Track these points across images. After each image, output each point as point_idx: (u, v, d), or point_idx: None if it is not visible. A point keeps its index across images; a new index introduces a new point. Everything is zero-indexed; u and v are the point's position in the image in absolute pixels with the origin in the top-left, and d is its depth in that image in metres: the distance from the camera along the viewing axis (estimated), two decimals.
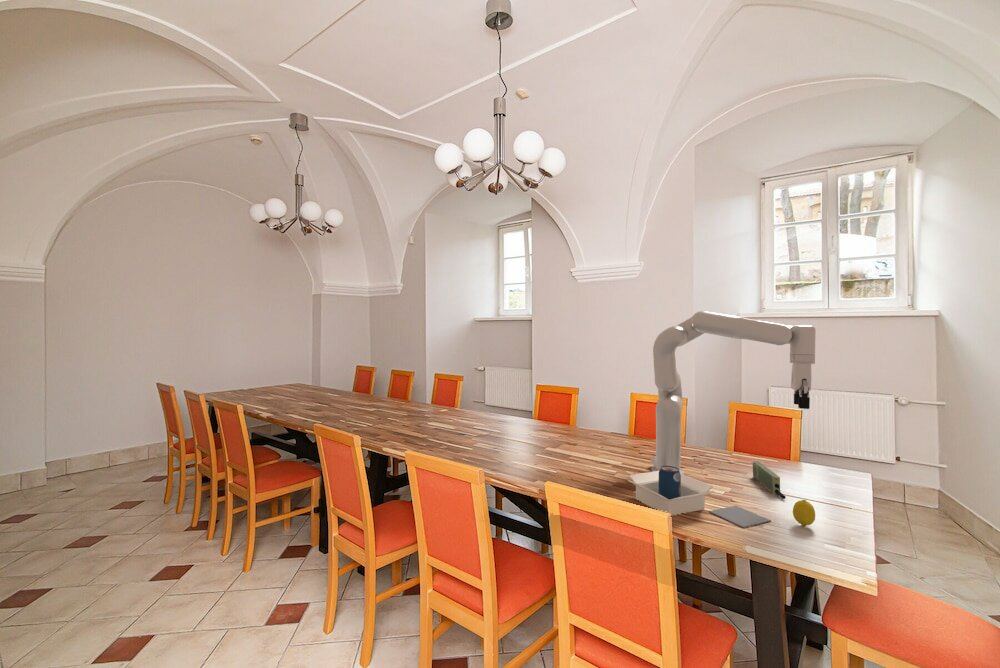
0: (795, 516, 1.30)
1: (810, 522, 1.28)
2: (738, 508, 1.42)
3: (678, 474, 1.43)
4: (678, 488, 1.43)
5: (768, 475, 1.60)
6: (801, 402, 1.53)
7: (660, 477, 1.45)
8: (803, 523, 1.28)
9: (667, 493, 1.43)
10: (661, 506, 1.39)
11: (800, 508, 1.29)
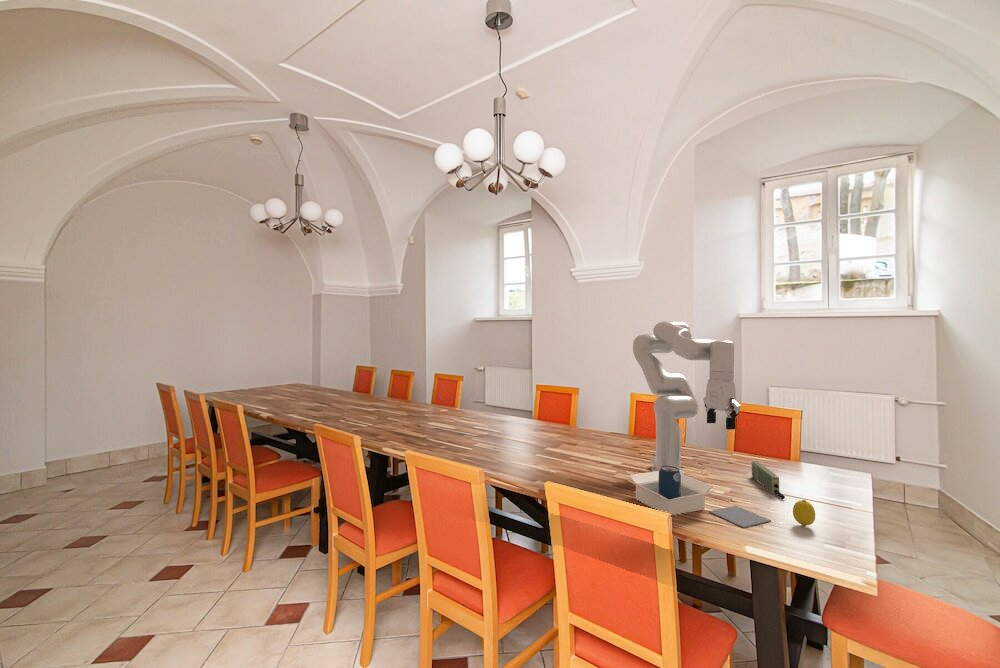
0: (795, 516, 1.30)
1: (810, 522, 1.28)
2: (738, 508, 1.42)
3: (678, 474, 1.43)
4: (678, 488, 1.43)
5: (767, 475, 1.60)
6: (729, 423, 1.44)
7: (660, 477, 1.45)
8: (803, 523, 1.28)
9: (667, 493, 1.43)
10: (661, 506, 1.39)
11: (800, 508, 1.29)
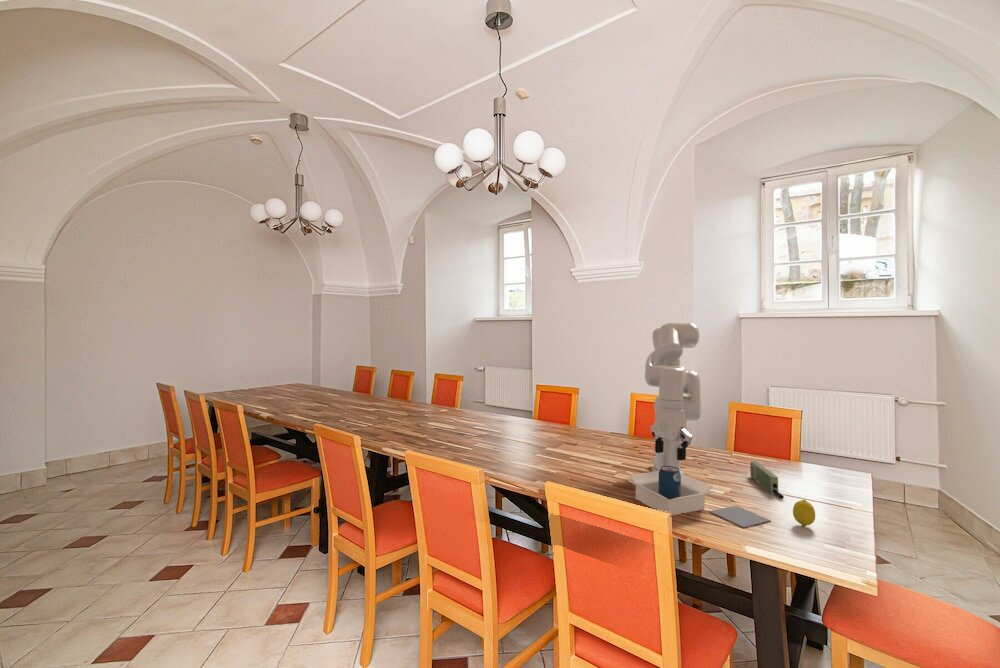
0: (795, 516, 1.30)
1: (810, 522, 1.28)
2: (738, 508, 1.42)
3: (678, 474, 1.43)
4: (678, 488, 1.43)
5: (766, 475, 1.60)
6: (680, 454, 1.40)
7: (660, 477, 1.45)
8: (803, 523, 1.28)
9: (667, 493, 1.43)
10: (661, 506, 1.39)
11: (799, 508, 1.29)
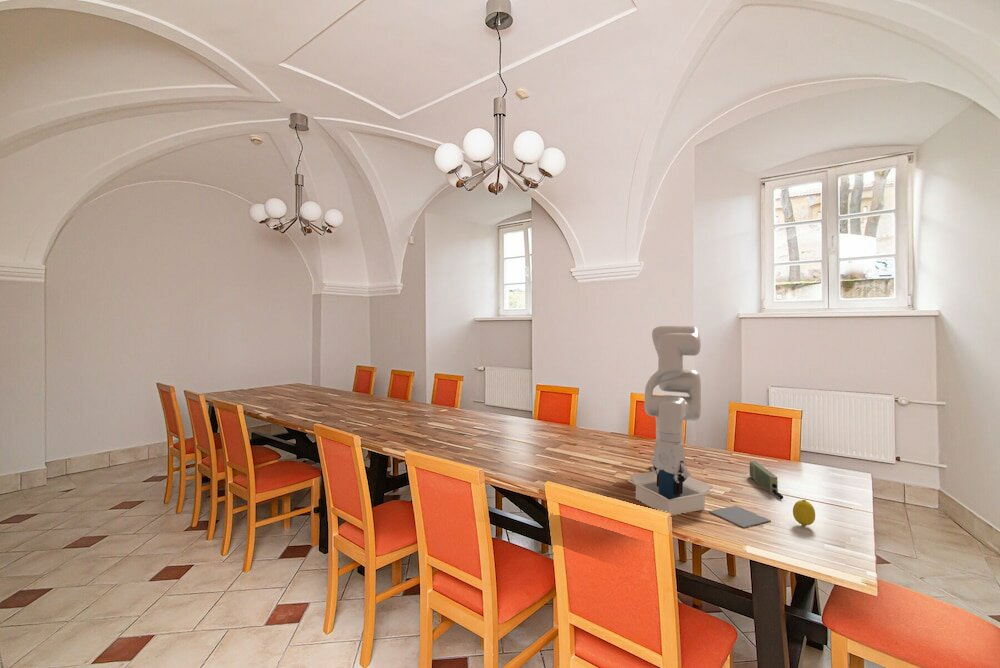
0: (795, 516, 1.30)
1: (810, 522, 1.28)
2: (738, 508, 1.42)
3: None
4: None
5: (765, 475, 1.60)
6: (677, 488, 1.41)
7: (660, 477, 1.45)
8: (803, 523, 1.28)
9: (667, 493, 1.43)
10: (661, 506, 1.39)
11: (799, 508, 1.29)
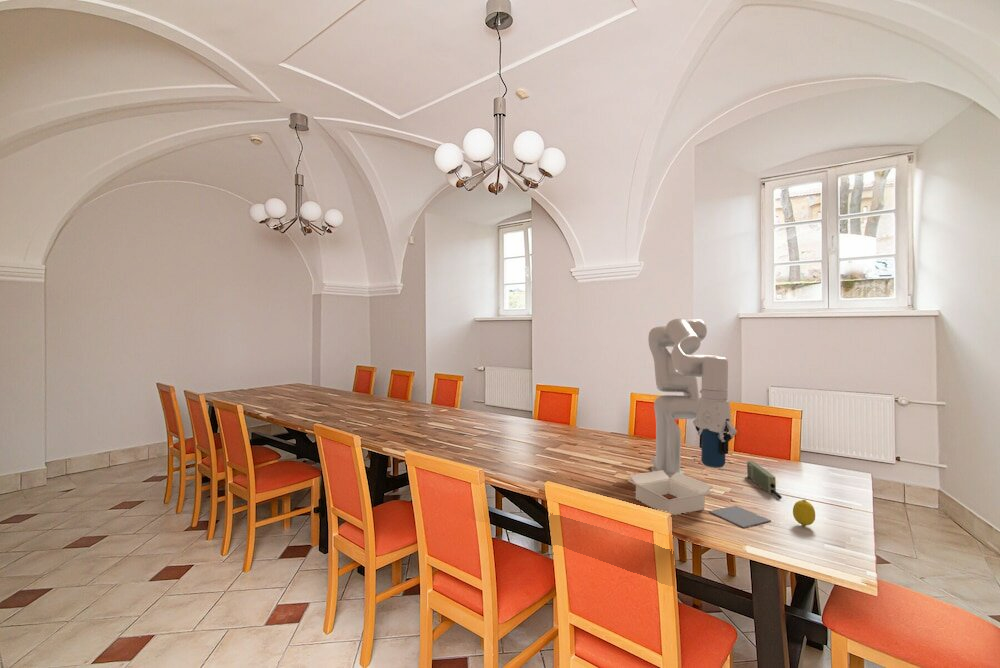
0: (795, 516, 1.30)
1: (810, 522, 1.28)
2: (738, 508, 1.42)
3: None
4: None
5: (763, 475, 1.60)
6: (723, 447, 1.35)
7: (704, 437, 1.39)
8: (803, 523, 1.28)
9: (712, 452, 1.37)
10: (661, 506, 1.39)
11: (800, 508, 1.29)
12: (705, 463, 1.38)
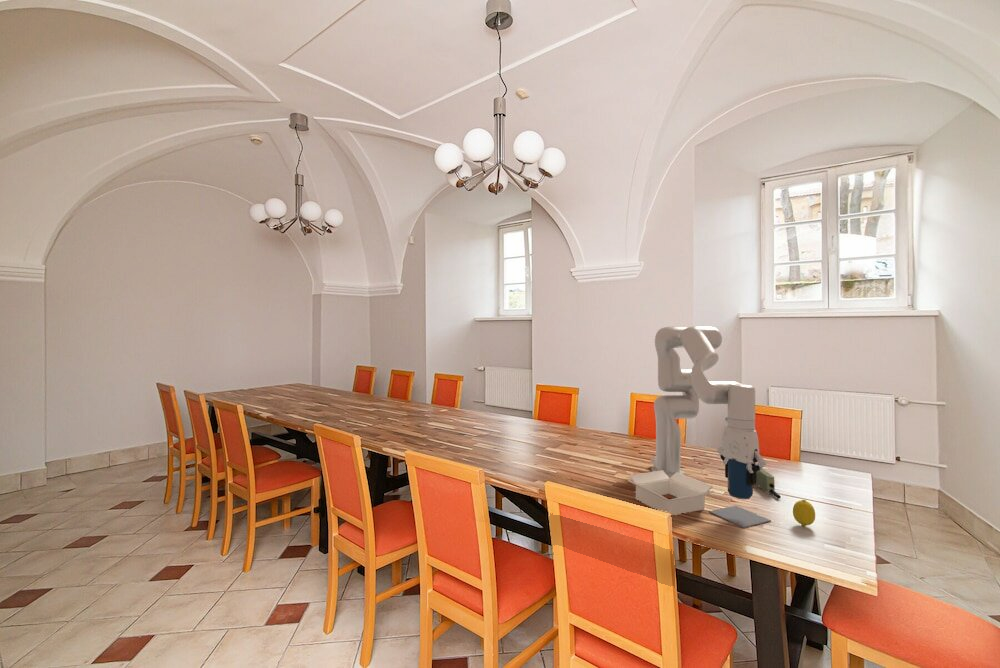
0: (795, 516, 1.30)
1: (810, 522, 1.28)
2: (738, 508, 1.42)
3: None
4: None
5: (762, 475, 1.60)
6: (751, 479, 1.32)
7: (731, 467, 1.35)
8: (803, 523, 1.28)
9: (740, 483, 1.33)
10: (661, 506, 1.39)
11: (799, 507, 1.29)
12: (732, 494, 1.35)
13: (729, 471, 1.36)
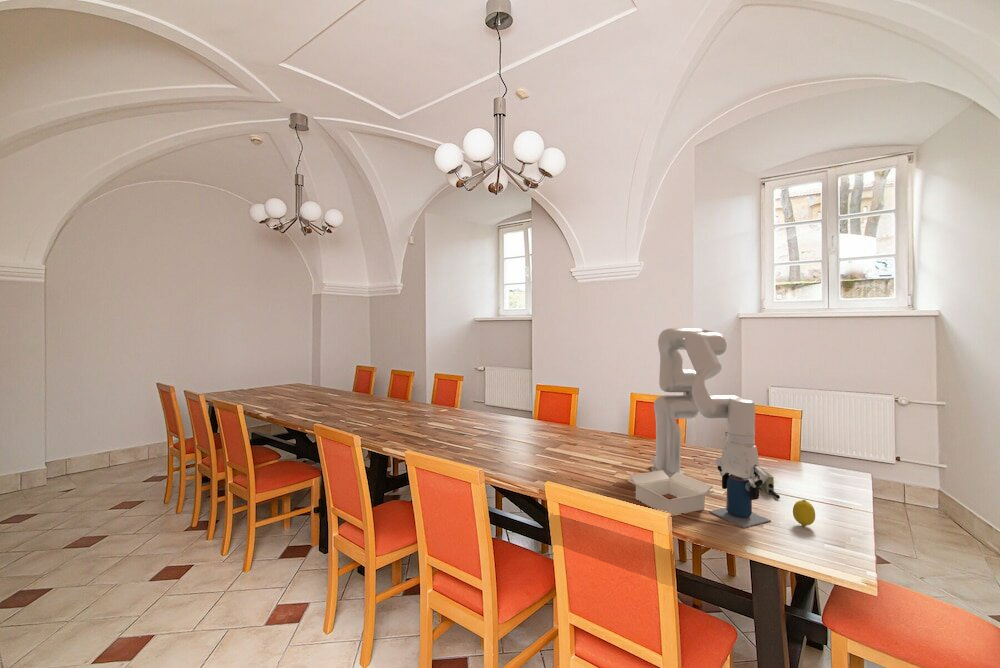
0: (795, 516, 1.30)
1: (810, 522, 1.28)
2: None
3: (750, 483, 1.34)
4: None
5: None
6: (754, 493, 1.31)
7: (730, 487, 1.36)
8: (803, 523, 1.28)
9: (739, 503, 1.33)
10: (661, 506, 1.39)
11: (799, 507, 1.29)
12: (731, 513, 1.35)
13: (728, 490, 1.36)
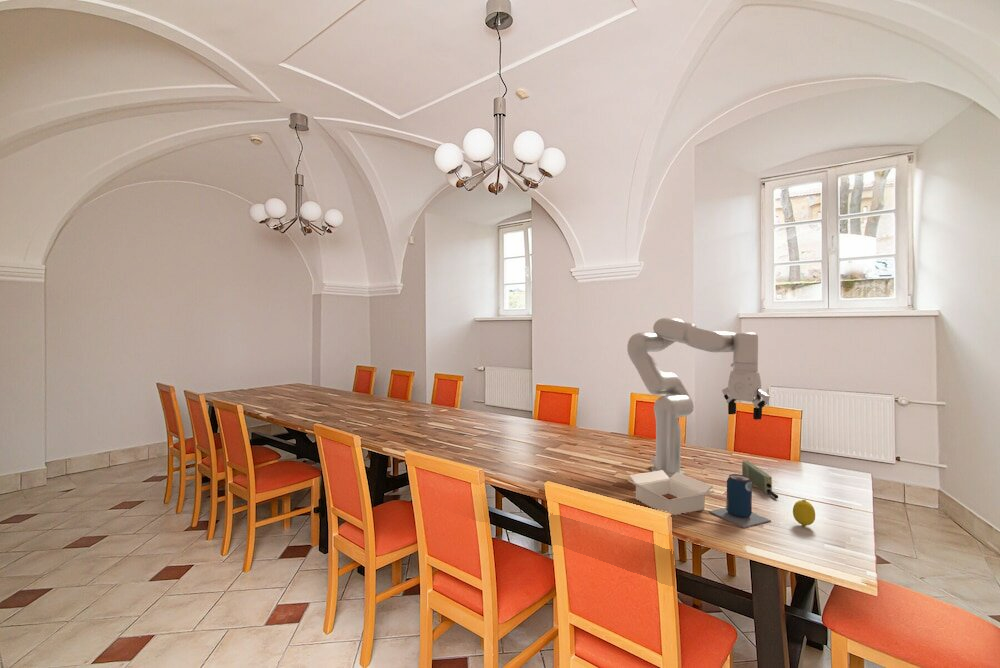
0: (795, 516, 1.30)
1: (810, 522, 1.28)
2: None
3: (750, 483, 1.34)
4: (750, 498, 1.34)
5: (759, 475, 1.60)
6: (757, 413, 1.47)
7: (730, 487, 1.36)
8: (803, 523, 1.28)
9: (739, 503, 1.33)
10: (661, 506, 1.39)
11: (799, 508, 1.29)
12: (731, 514, 1.35)
13: (728, 490, 1.36)
